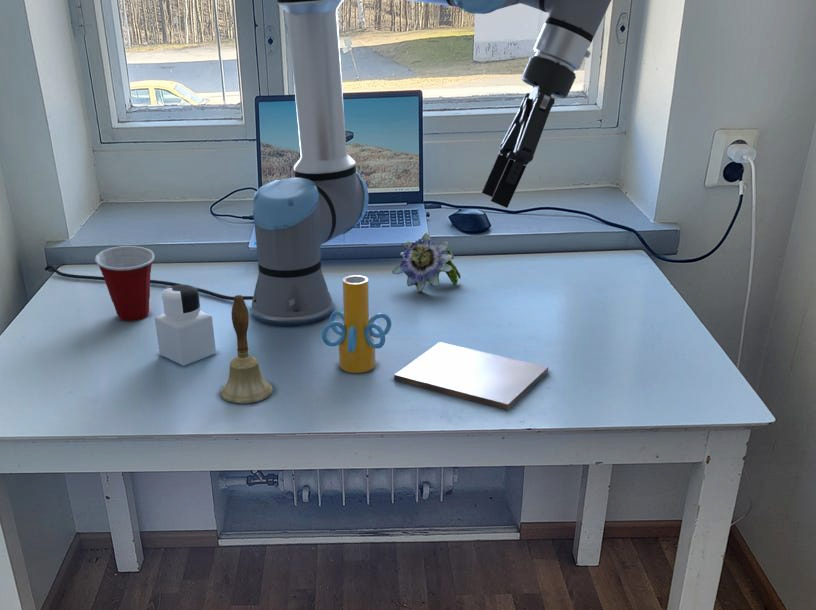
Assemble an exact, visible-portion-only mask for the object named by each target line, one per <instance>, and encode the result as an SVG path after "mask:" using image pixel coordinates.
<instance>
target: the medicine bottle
mask: <svg viewBox="0 0 816 610" xmlns="http://www.w3.org/2000/svg"><path fill="white" fill-rule="evenodd" d="M196 288H197V287H196ZM196 288H195V286H193V285H190V284H183V285H174V286H169V287H167V288H165V289H164V290H163V291H162V293H161V298H162V306H163V313H161V314H160V315H156V316H155V317H154V325H155V330H156V338H157V344H158V350H159V351H158V353H159V355H160V356H162V357H164V358H166V359H168V360H170V361H172V362H174V363H177V364H178V365H181V366H183V367H185V366H188V365H190V364H193V363H195V362H198V361H200V360H203V359H205V358H208V357H211V356H213V355H215V354H216V353H217V348H216V340H215V331H214V330H215V329H214V321H213V316H212V315H211V314H209V313H206V312H204V311H202V310H201V304H200V296H199V294H200V292H198V290H197V289H196Z"/></svg>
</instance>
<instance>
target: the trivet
mask: <svg viewBox="0 0 816 610" xmlns="http://www.w3.org/2000/svg"><path fill="white" fill-rule="evenodd" d="M548 373H549V367H548V366H545V365H541V364H536V363H532V362H528V361H523V360H520V359H516V358H515V359H514V358H511V357H506V356H503V355H498V354H494V353H489V352H485V351H481V350H476V349H472V348H468V347H463V346H459V345H455V344H451V343H446V342H443V341H439V342H437V343H436V344H435V345H433V346H432V347H430V348H429V349H427V350H426V351H425V352H423V353H422V354H421V355H419V356H418V357H417V358H415V359H414V360H412V361H411V362H410V363H408V364H407V365H406V366H404V367H403V368H402V369H399V370H398V372H396V373H394V375H393V380H394V381H395V382H398V383H402V384H403V383H404V384H406V385H411V386H415V387H418V388H422V389H426V390H430V391H434V392H437V393H441V394H444V395H449V396H453V397H456V398H460V399H464V400H467V401H471V402H474V403H479V404H481V405H482V404H483V405H487V406H490V407H494V408H498V409H500V410H501V409H502V410H506V411H509V410H510V409H511V408H512V407H513V406H514V405H515V404H516V403H517V402H518V401H519V400H520V399H521V398H523V397H524V396H525V395H526V394H527V393H528V392H529V391H530V390H531V389H532V388H533V387H534V386H536V385H537V383H539V382H540V381H542V379H543V378H544V377H545V376H547V374H548Z"/></svg>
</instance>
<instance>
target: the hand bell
mask: <svg viewBox="0 0 816 610" xmlns="http://www.w3.org/2000/svg"><path fill="white" fill-rule="evenodd" d="M243 296H244V295H241V294H236V295H235V296H233V297H234V300H233V302H232V306H231V322H232V327H233V329H234V332H235V335H236V346H237V348H236V349H237V353H236V355H237V356H236V357H234V358H232V359H231V360H230V362H229V373H228V379H227V381H226V383H225V384H224V385H223V386H222V388H221V390H220V396H221V398H222V399H223V400H225V401H227V402H230V403H232V404H233V403H234V404H251V403H257V402H260V401H263V400H265V399H267V398H269V397H270V396H271V395H272V393H273V392H274V389H273V386H272V384H271V383H270V382H269V381H268V380H266V379H265V378H264V376H263V374H262V372H261V369H260V364H259V360H258V358H256V357H254V356H252V355H250V354H249V346H248V345H249V343H248V335H247V334H248V330H249V323H250V317H249V310H248V307H247V303H246V302H245V300H244V299H243Z"/></svg>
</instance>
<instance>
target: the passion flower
mask: <svg viewBox="0 0 816 610" xmlns="http://www.w3.org/2000/svg"><path fill="white" fill-rule="evenodd" d="M431 241H432V240H431V235H430V234H429V233H428V232H425V233H424V234H423V235H422V237H421V238H419V239H418V240H415V242H413V241H412V242H411V241H406V244H404V243H402V244H401V247H402V248H403V251H402V252H399V256H400V257H401V258H403V259H402V260H400V264H399V265H398V266H396V267H394V268H393V269H392V274H393V275H401V274H405V275H406V277H407V279H406V285H407V287H411V286H415V287H416V291H417V293H420V292H422V291H423V289H424V288H425V286H426V283H427V282H429V283H430V284H431V285H432V286H433V287H437V286H438V285H439V283H440V278H439V277H440V273H441V272H442V273H443V272H444V273H445V274H446V276H447V277H448V278H449V279H450V282H451V283H452V285H453V286H455V287H456V286H457V284H458V282H459V279H461V278H462V277H461V273H460V272H459V271H458V268H457V266H456V265H455V264H454V263H453V262H452V260H453V259H455V256H454V254H453V253H452V252H451V249H450V248H448V246H449V242H448V241H443V242H438V243H436V244H434V243H433V242H432V243H431ZM445 251H446V252H447V253H444V252H445Z"/></svg>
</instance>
